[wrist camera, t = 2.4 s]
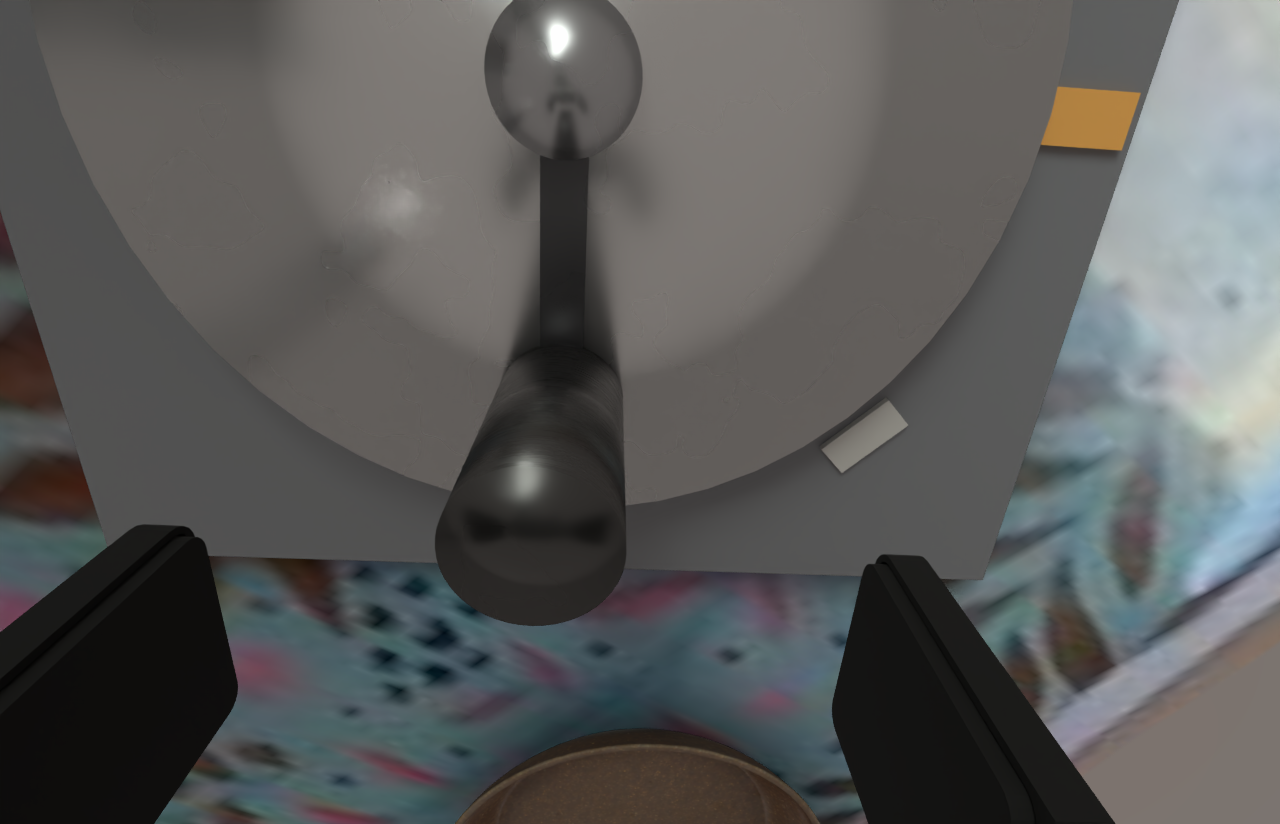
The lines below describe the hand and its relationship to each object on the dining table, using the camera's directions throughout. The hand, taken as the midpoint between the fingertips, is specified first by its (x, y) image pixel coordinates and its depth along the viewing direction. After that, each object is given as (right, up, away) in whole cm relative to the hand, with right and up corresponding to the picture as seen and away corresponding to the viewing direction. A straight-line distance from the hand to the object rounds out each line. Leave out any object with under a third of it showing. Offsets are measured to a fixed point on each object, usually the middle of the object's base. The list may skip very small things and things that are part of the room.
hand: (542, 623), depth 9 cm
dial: (0, +10, +5) cm, 11 cm away
